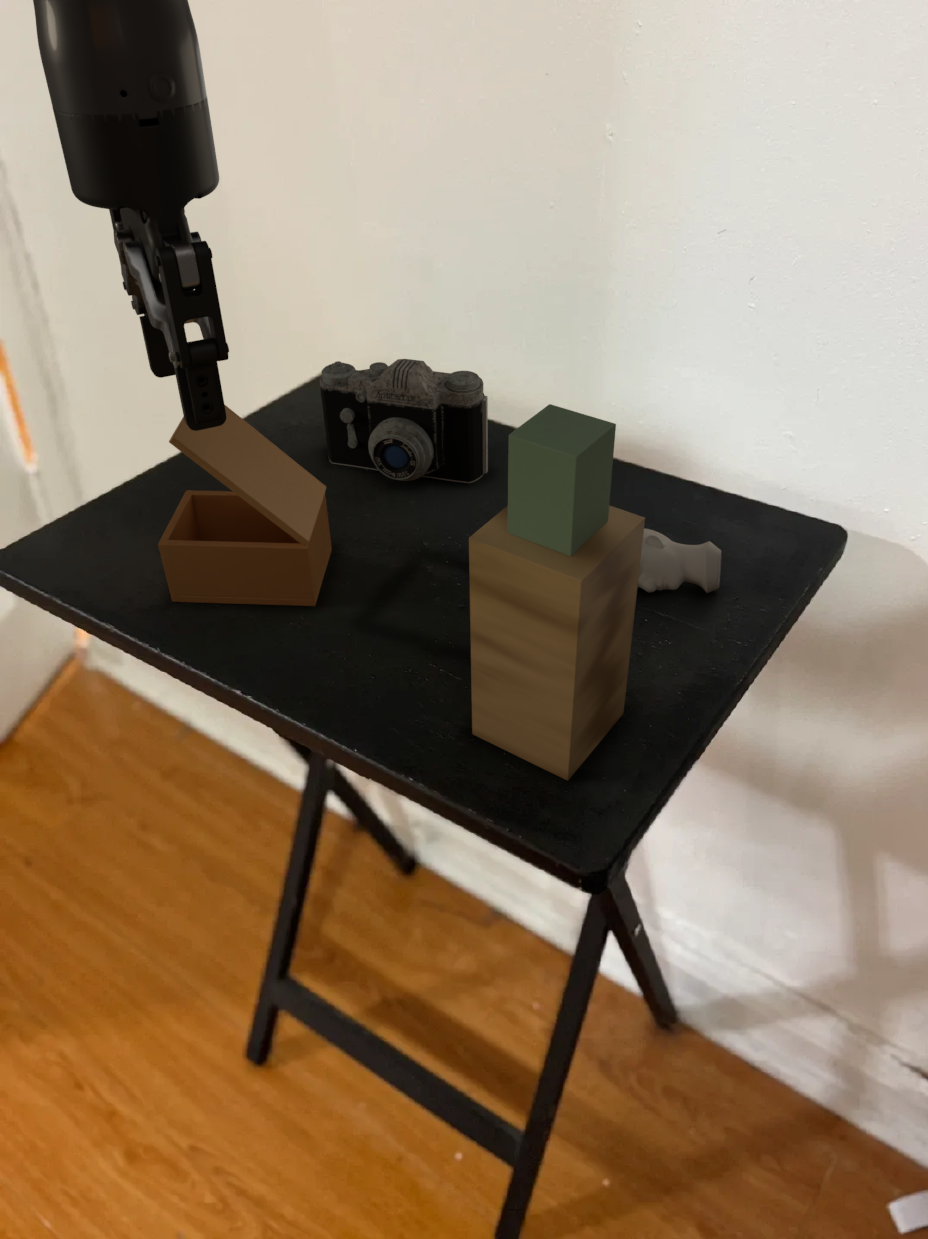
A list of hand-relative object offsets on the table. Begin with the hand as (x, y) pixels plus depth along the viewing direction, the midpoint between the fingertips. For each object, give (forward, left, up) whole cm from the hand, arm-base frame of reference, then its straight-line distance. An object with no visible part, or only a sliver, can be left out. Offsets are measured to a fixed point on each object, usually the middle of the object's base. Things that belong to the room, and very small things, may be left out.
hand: (187, 398), depth 61 cm
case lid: (+4, +7, -9) cm, 12 cm away
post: (+17, -16, -19) cm, 30 cm away
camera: (+18, +17, -19) cm, 31 cm away
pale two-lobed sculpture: (+31, -6, -19) cm, 37 cm away
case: (+3, +7, -19) cm, 20 cm away
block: (+17, -16, -4) cm, 23 cm away
